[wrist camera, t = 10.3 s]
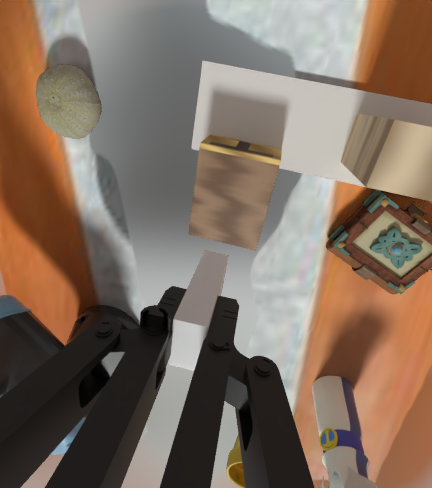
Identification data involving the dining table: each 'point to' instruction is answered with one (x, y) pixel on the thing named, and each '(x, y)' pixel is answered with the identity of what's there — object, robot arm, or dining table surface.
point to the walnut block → (233, 190)
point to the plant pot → (236, 465)
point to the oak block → (391, 156)
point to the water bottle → (340, 434)
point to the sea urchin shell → (68, 101)
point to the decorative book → (385, 243)
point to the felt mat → (292, 116)
